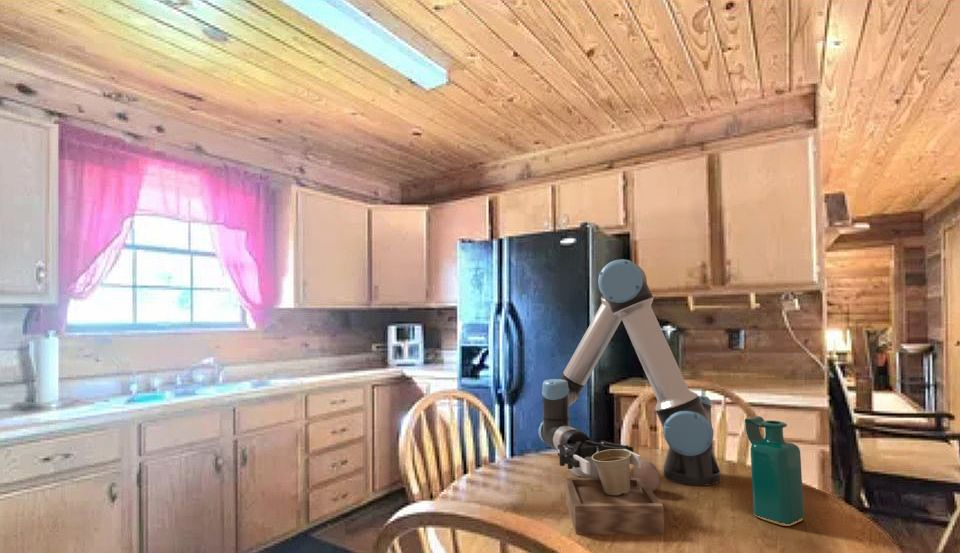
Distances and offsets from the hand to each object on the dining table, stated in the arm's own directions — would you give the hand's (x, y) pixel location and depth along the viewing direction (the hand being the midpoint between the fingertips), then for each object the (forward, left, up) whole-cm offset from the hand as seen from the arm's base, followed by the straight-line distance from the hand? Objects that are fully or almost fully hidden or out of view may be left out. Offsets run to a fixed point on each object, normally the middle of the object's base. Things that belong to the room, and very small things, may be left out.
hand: (614, 464), depth 123 cm
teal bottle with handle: (-36, -1, -13) cm, 38 cm away
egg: (-11, -18, -13) cm, 24 cm away
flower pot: (-1, -4, -8) cm, 9 cm away
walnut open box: (+1, -2, -13) cm, 13 cm away
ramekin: (+1, -35, -13) cm, 37 cm away
